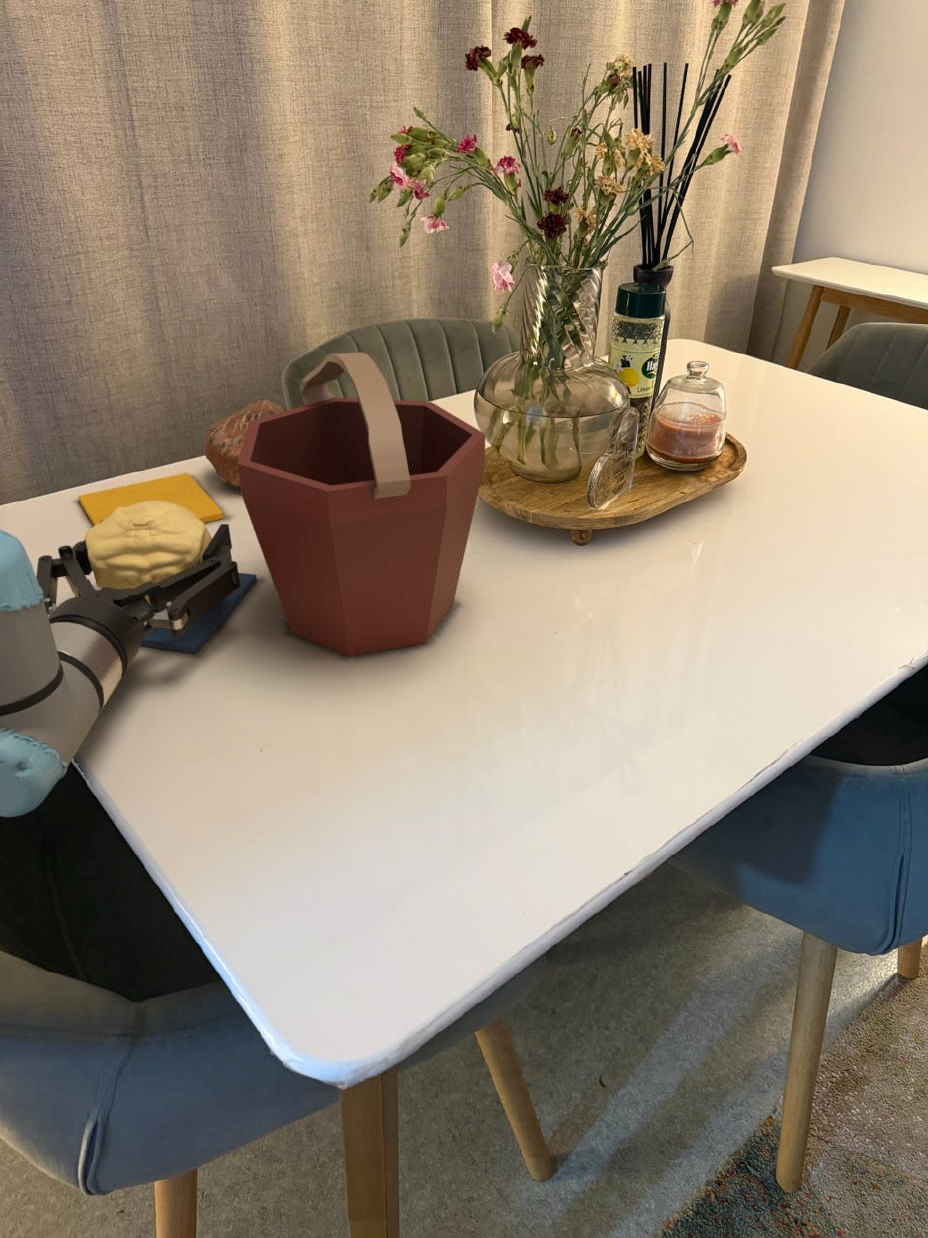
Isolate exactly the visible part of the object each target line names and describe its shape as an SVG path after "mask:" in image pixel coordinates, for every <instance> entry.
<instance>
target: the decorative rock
mask: <svg viewBox="0 0 928 1238" xmlns="http://www.w3.org/2000/svg"><path fill="white" fill-rule="evenodd" d="M281 412H284V409H283V408H282V407H281V406H280V405H279V404H278V403H275V402H273V401H271V400H268V399H263V400H256V401H254V402H252V403H250V404H248V405H246V406H244V407H243V408H240V410H238V411H237V412H235V413H233V414H231V415H230V416H227V417H226V418H222V419H221V418H220V419H219V420H216V421H215V422H213V423H212V424H211V425H210V427H209V428H208V430H207V433H206V436H205V446H204V448H205V449H204V456H205V458H206V460H208V461H209V463H210V464H211V466H212V467H213V469H214V470H215V472H216V474H217V475H218V477H219V478H220V479H221V480H222V482H224V483H225V484H228V485H230V486H234V487H237V488H241V487H240V480H239V473H238V466H237V463H238V459H239V455H240V452H241V448H242V445H243V441H244V438H245V434H246V431H247V427H248V424H249V421H253V420H256V419H260V418H263V417H267V416H270V415H274V414H277V413H281Z"/></svg>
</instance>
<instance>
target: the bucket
mask: <svg viewBox="0 0 928 1238" xmlns="http://www.w3.org/2000/svg"><path fill="white" fill-rule="evenodd" d="M344 373H345V374H346V375H347V377H348V380H349V381H350V383H351V385H352V387H353V389H354V392H355V395H356V397H335V396H334V395H333V394H332V393H331V392H330V391H329V388H328V385H327V383H328V382H331V381H336V380H337V379H338V378H339V377H340V376H342V375H343V374H344ZM299 390H300V394H301V399H302V402H303V404H304V405H302V406H299V407H295V408H291V409H288V410H285V411H284V410H283V411H284V412H281V413H277V414H274V415H270V416H267V417H263V418H260V419H256V420H253V421H249V424H248V427H247V431H246V434H245V438H244V441H243V445H242V448H241V452H240V455H239V459H238V463H237V466H238V473H239V480H240V487H239V488H240V492H241V493H240V494H241V497H242V500H243V503H244V506H245V509H246V512H247V514H248V517H249V519H250V522H251V525H252V527H253V530H254V533H255V536H256V538H257V542H258V544H259V547H260V550H261V553H262V555H263V558H264V560H265V561H264V562H265V564H266V567H267V568H268V571H269V575H270V578H271V580H272V583H273V585H274V589H275V592H276V594H277V597H278V599H279V602H280V605H281V608H282V611H283V613H284V616H285V619H286V621H287V624H288V627H289V629H290V632H291V634H294V635H297V636H299V637H301V638H303V639H306V640H308V641H311V642H314V643H316V644H319V645H322V646H324V647H326V648H328V649H331V650H334V651H336V652H338V653H341V654H343V655H346V656H348V657H355V656H361V655H367V654H372V653H377V652H379V653H380V652H384V651H389V650H394V649H401V648H407V647H411V646H415V645H416V646H417V645H422V644H426V643H427V642H428V641H429V639H430V638H431V636H432V635H433V634H434V633H435V631H436V629H437V628H438V627H439V625H440V624H441V623H442V621H443V619H444V618H445V617H446V615H447V614H448V612H449V611H450V609H452V606H453V605H454V601H455V597H456V594H457V593H456V592H457V588H458V584H459V579H460V575H461V571H462V566H463V562H464V557H465V554H466V548H467V544H468V540H469V535H470V531H471V526H472V523H473V517H474V513H475V509H476V505H477V500H478V496H479V491H480V486H481V482H482V478H483V474H484V468H485V465H486V464H485V463H486V433H484V432H483V431H481V430H479V429H478V428H476V427H474V426H472V425H470V424H469V423H468V422H466V421H464V420H463V419H461V418H459V417H457V416H455V415H454V414H453V413H451V412H449V411H448V410H446V409H444V408H442V407H441V406H439V405H437V404H436V403H434V402H432V401H419V400H418V401H417V400H398V399H397V400H396V399H393V397H392V394H391V392H390V388H389V386H388V383H387V381H386V379H385V377H384V375H383V374H382V372H381V371H380V369H379V367H378V366H377V363H376V362H375V361H374V359H373V358H371V356H369V355H368V354H367V353H365V352H340V353H328V354H327V356H326V357H324V359H323V360H322V361H321V363H320V364H319V365H317V366H316V367H315V368H314V369H313V370H312V371H310V372H309V373H308V374H307V375H305V377H304V378H303V379H302V380H301V381H300V384H299Z"/></svg>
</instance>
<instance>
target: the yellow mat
mask: <svg viewBox="0 0 928 1238" xmlns="http://www.w3.org/2000/svg"><path fill="white" fill-rule="evenodd" d="M77 496H78V502H79V503H80V505H81V507H82V508H83V510H84V512H85V513H86V515H87V517H88V518H89V520H90V522H91V523H92V525H93V527H94V526H95V525H97V524H99V523H100V521H101V520H105V519H107V518H109V516H110V515H111V514H112V513H113V512H114V511H115V509H116V508H118V507H127V506H130V505H133V504H136V503H140V502H145V501H165V502H170V503H174V504H177V505H180V506H182V507H184V508H186V509H188V510H190V511H191V512H193V513H194V514H195V515H196V516H197V517H198V518H199V519H200V520H201V521H202V522H203V523H204V524H206V523H210V522H214V521H219V520H223V519H225V516H224V512H223V511H222V509H221V508H220V507H219V506H218V504H216V503H215V501H214V500H212V498H211V497H210V496H209V495H208V494H207V493H206V492H205V490H204V489H203V488H202V487H201V486H200V484H198V482H197V481H196V480H195V479H194V478H193V477H192V476H191V474H189V473H188V472H183V473H179V474H173V475H169V476H166V477H165V476H164V477H160V478H156V479H151V480H145V481H141V482H137V483H132V484H126V485H122V486H118V487H113V488H109V489H103V490H99V491H95V492H89V493H84V494H79V495H77Z"/></svg>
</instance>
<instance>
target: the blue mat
mask: <svg viewBox="0 0 928 1238" xmlns="http://www.w3.org/2000/svg"><path fill="white" fill-rule="evenodd" d="M238 573H239V580H240V587H239V588H238V589H236V590H235V591H234V592H232V593H231V594H230V595H228V596H227V597H226V598H224V599H223V600H222V601H220V602H219V603H218V604H216V605H215V606H214V607H212V608H211V609H210V610H208V611H207V612H206V613H204V614H203V615H202V616H200V617H199V618H198V619H196V620H195V621H194V622H192V624H191V625H190V627H189V628H188V630H187V632H186V633H185V634H184V635H182V636H179V637H175V636H173V635H172V633H171V628H155V629H154V630H153V631H151V632H150V633H148V634H147V635H145V636H144V637H143V639H142V642H141V645H140V647H147V648H148V647H149V648H154V649H162V650H169V651H177V652H182V653H189V654H196V655H197V654H198V652H199V651H200V650H201V649H202V648H203V646H204V645H205V644H206V643H207V641H209V640H210V638H211V637H212V636H213V634H214V633H215V632H216V630H218V628H219V627H220V626H221V625H222V624H223V622H224V621H225V620H226V619H227V618H228V617H229V616H230V614H231V613H232V612H233V610H234V609H236V607H237V606H238V605H239V603H240V602H241V601H242V600H243V599H244V597H245V596H246V595H248V593H249V591H250V590H251V589H252V588H253V587H254V586H255V584H256V583H257V582H258V577H257V574H251V573H245V572H238Z"/></svg>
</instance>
